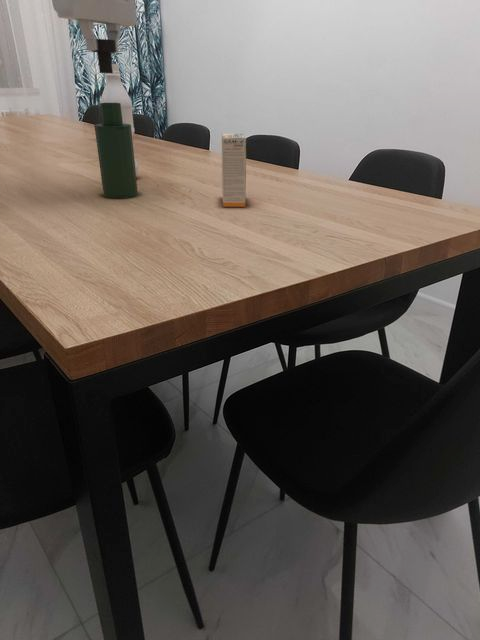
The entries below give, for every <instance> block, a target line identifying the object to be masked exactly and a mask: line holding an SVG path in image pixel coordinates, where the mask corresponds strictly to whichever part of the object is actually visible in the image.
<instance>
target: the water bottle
mask: <svg viewBox="0 0 480 640" xmlns="http://www.w3.org/2000/svg"><path fill="white" fill-rule="evenodd" d="M112 72H113V73H104V76H105V79H106V80H105V85H104V89H103V91H102V94H101V98H100V103H121V111H122V121H123V124H130V125H131V131H132V141H134V135H135V125H134V115H133V104H132V100H131V97H130V95H129V94H128V91H127V90H126V88H125V86H124V85H123V82H122V79H121V77H122V74H121V72H120V65H119V63H112ZM134 160H135V170H136V178H137V176H138V174H139V164H138V162H137V160H136V157H135V156H134Z"/></svg>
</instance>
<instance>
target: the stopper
mask: <svg viewBox="0 0 480 640" xmlns="http://www.w3.org/2000/svg"><path fill="white" fill-rule="evenodd" d="M96 40H99V48H100V49H99V51H91V53H97V60H98V69H99V74H106V73H113V72H112V64H113V63H112V55H111V54H114V53H115V54H116V53H117V52H116V45H115V40H108V38H96Z"/></svg>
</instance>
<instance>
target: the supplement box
mask: <svg viewBox="0 0 480 640" xmlns="http://www.w3.org/2000/svg"><path fill="white" fill-rule="evenodd" d="M221 187H222V189H221V191H222V194H221V195H222V206H223V207H225V208H226V207H227V208H235V207H236V208H240V207H242V208H245V207H246V202H247V201H246V200H247V199H246V198H247V197H246V193H247V192H246V189H247V138H246V135H245V134H244V133H221Z"/></svg>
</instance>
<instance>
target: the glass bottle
mask: <svg viewBox="0 0 480 640" xmlns="http://www.w3.org/2000/svg"><path fill="white" fill-rule="evenodd" d="M99 110H100V117H101V118H100V119H101V123H96V124H94V133H95V141H96V148H97V156H98V163H99V170H100V178H101V185H102V192H103V197H105V198H108V199H118V200H119V199H130V198H134V197H137V196H138V195H139V193H138V192H139V191H138V182H137V181H138V180H137V177H136V170H135V160H134V157H135V152H134V143H133V141H134V140H133V141H132V131H131V125H130V124H123V121H122V111H121V103H101V102H100V103H99Z"/></svg>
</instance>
